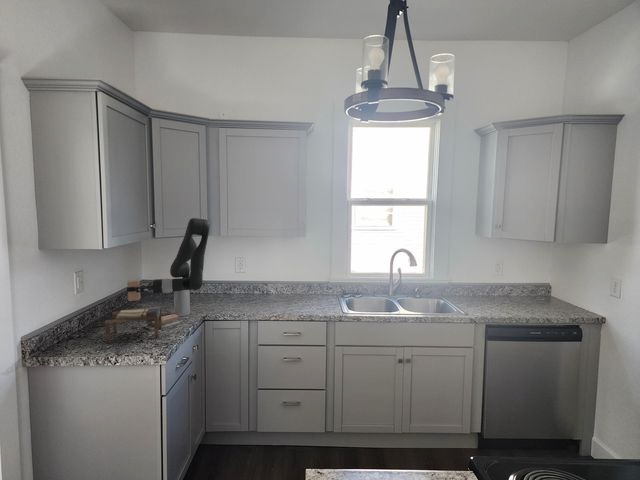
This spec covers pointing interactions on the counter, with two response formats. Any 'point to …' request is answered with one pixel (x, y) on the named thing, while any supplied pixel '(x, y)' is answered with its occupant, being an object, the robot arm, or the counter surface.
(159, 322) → the wooden legged stool
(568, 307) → the counter surface
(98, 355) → the counter surface
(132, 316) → the trapdoor
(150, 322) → the packaged product
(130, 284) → the block
